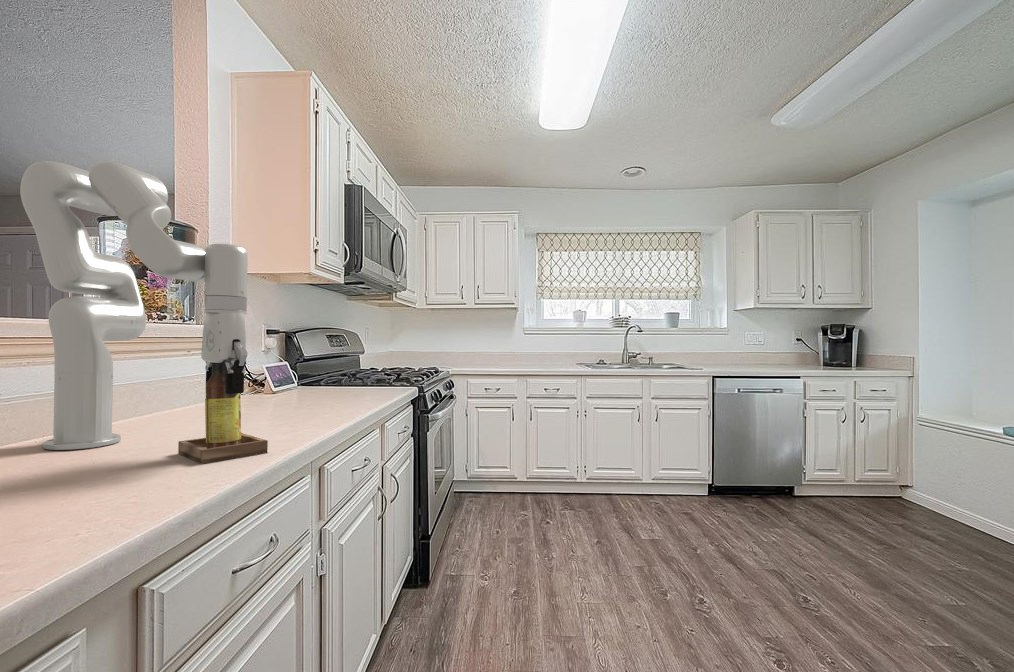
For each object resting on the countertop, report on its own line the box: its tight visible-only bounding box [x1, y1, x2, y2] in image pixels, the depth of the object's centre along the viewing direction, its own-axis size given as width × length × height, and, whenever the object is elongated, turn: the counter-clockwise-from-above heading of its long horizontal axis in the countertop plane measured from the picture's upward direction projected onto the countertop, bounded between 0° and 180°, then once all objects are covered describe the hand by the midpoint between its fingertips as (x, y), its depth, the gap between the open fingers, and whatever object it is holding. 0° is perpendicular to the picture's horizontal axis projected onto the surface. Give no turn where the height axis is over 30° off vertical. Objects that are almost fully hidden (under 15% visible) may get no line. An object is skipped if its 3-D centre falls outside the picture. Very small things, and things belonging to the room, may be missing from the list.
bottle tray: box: [177, 432, 268, 465], centre depth 99 cm, size 12×12×2 cm
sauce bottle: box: [204, 360, 242, 449], centre depth 100 cm, size 6×6×20 cm
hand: (224, 391), depth 100 cm, fingers open, 9 cm apart
